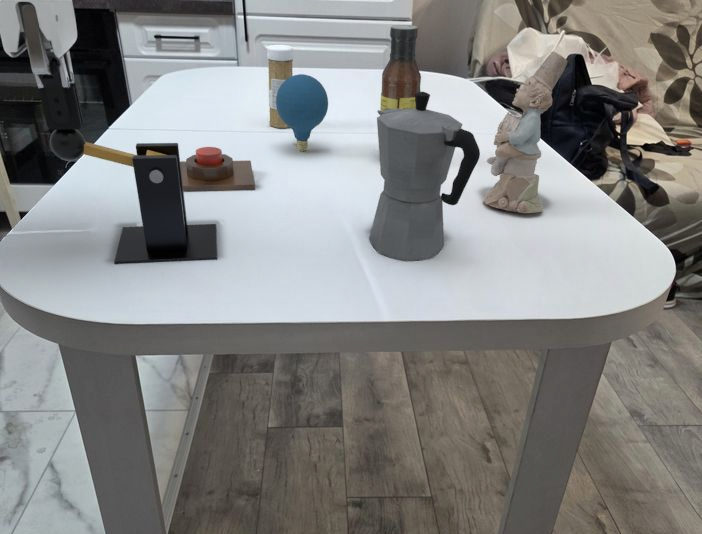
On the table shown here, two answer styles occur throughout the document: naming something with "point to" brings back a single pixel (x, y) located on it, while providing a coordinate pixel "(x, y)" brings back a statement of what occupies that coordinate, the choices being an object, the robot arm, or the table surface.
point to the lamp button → (209, 156)
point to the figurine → (523, 142)
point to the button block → (217, 175)
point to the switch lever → (86, 148)
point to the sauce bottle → (401, 70)
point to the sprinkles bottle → (278, 77)
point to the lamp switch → (163, 213)
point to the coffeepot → (417, 178)
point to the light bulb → (302, 106)
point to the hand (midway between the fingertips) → (66, 126)
